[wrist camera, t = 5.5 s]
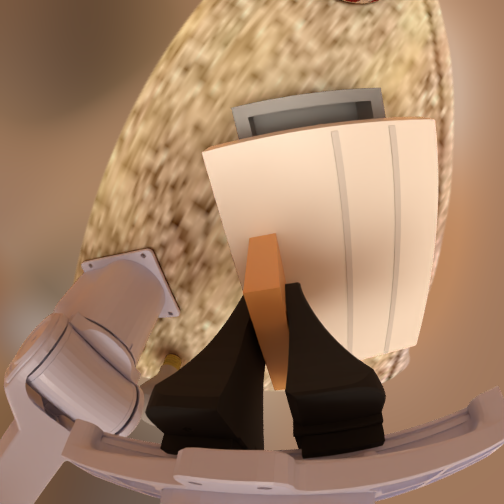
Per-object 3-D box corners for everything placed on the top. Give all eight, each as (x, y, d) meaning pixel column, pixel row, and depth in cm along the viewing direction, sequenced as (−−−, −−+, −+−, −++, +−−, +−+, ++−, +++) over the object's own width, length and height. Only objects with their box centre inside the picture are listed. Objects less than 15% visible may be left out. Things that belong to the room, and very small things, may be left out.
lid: (269, 357, 19) (269, 426, 14) (209, 147, 12) (170, 175, 7) (408, 329, 17) (435, 390, 12) (418, 116, 11) (493, 132, 6)
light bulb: (175, 336, 30) (149, 410, 21) (204, 363, 32) (187, 434, 23) (146, 347, 32) (118, 412, 23) (173, 371, 34) (154, 435, 25)
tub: (274, 261, 24) (274, 290, 20) (239, 107, 18) (231, 107, 14) (376, 245, 22) (391, 271, 19) (361, 90, 16) (380, 87, 13)
